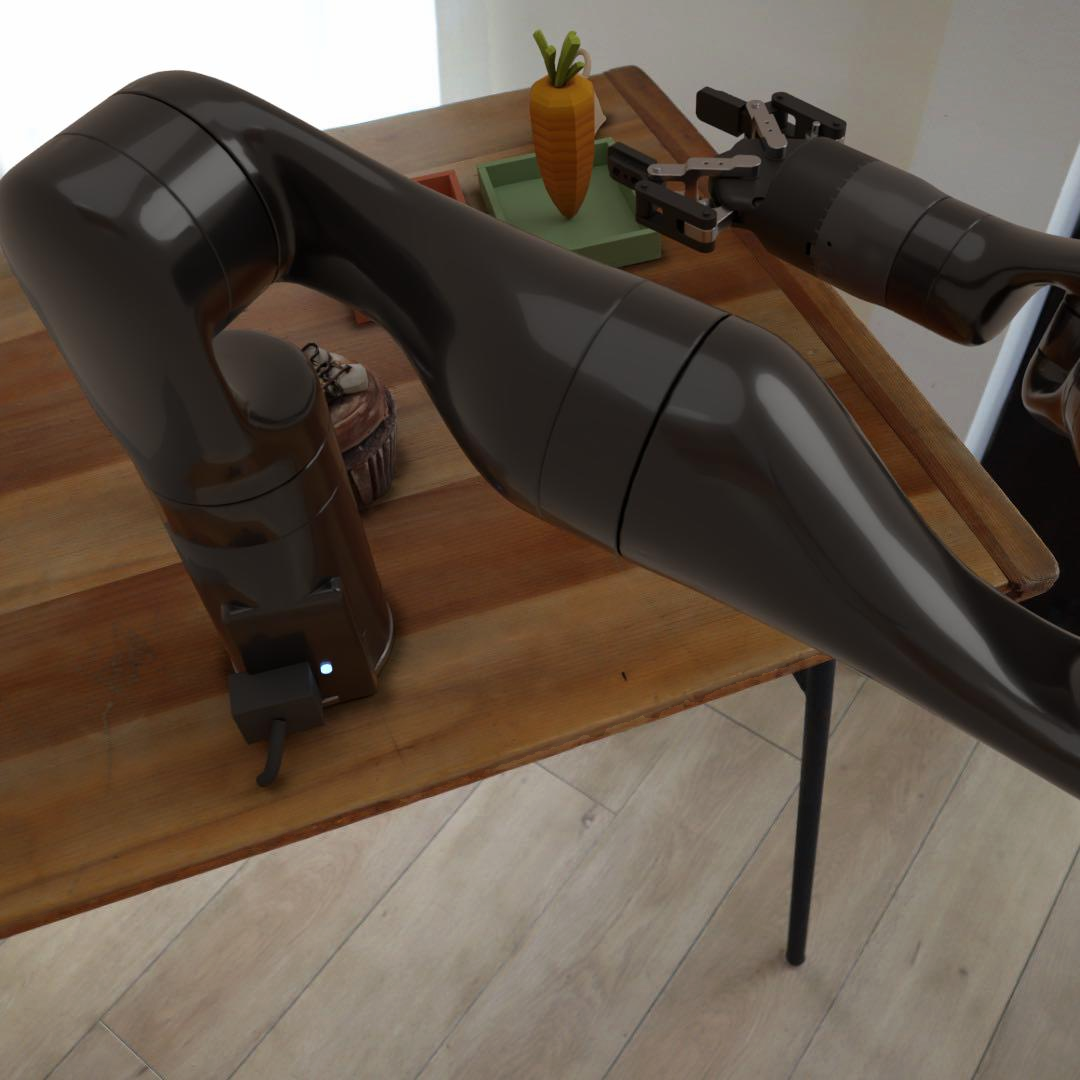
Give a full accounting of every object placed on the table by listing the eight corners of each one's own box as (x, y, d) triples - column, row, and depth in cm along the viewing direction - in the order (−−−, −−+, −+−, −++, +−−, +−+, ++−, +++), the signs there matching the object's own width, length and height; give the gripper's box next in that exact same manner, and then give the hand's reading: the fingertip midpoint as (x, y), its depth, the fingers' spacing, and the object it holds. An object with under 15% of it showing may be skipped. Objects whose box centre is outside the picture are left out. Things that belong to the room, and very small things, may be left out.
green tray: (661, 258, 88) (661, 230, 86) (516, 289, 87) (513, 262, 85) (612, 163, 97) (611, 136, 95) (479, 191, 96) (476, 164, 94)
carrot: (528, 209, 93) (510, 24, 81) (587, 192, 94) (577, 7, 82) (551, 244, 90) (536, 57, 78) (611, 226, 90) (605, 38, 79)
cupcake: (439, 452, 77) (415, 335, 70) (346, 552, 72) (309, 438, 65) (328, 402, 81) (294, 286, 73) (233, 494, 76) (185, 380, 69)
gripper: (939, 116, 70) (728, 31, 78) (787, 227, 64) (577, 123, 72) (917, 222, 76) (723, 132, 84) (776, 332, 70) (582, 225, 78)
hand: (656, 128), depth 78 cm, fingers open, 8 cm apart
